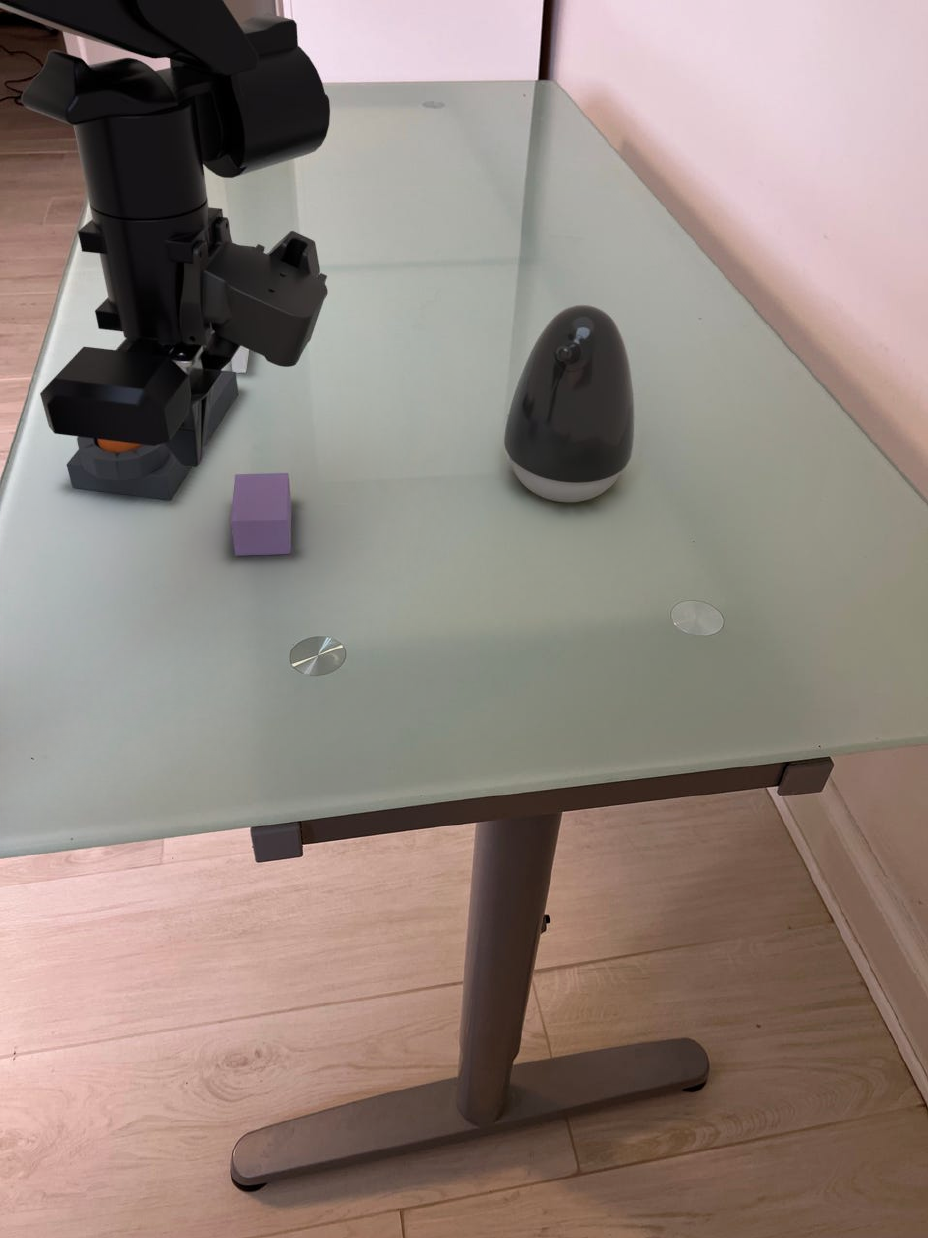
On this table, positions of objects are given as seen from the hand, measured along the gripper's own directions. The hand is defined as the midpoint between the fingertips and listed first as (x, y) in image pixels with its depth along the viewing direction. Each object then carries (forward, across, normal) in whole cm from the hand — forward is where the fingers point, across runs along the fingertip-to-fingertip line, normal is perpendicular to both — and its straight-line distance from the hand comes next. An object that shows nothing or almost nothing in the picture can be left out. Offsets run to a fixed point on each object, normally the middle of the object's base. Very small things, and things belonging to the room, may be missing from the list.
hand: (191, 463), depth 60 cm
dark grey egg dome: (+12, +20, -22) cm, 33 cm away
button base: (+12, +20, +12) cm, 26 cm away
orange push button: (+8, +14, +12) cm, 20 cm away
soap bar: (+12, +9, -1) cm, 15 cm away
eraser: (+12, +35, +9) cm, 38 cm away
